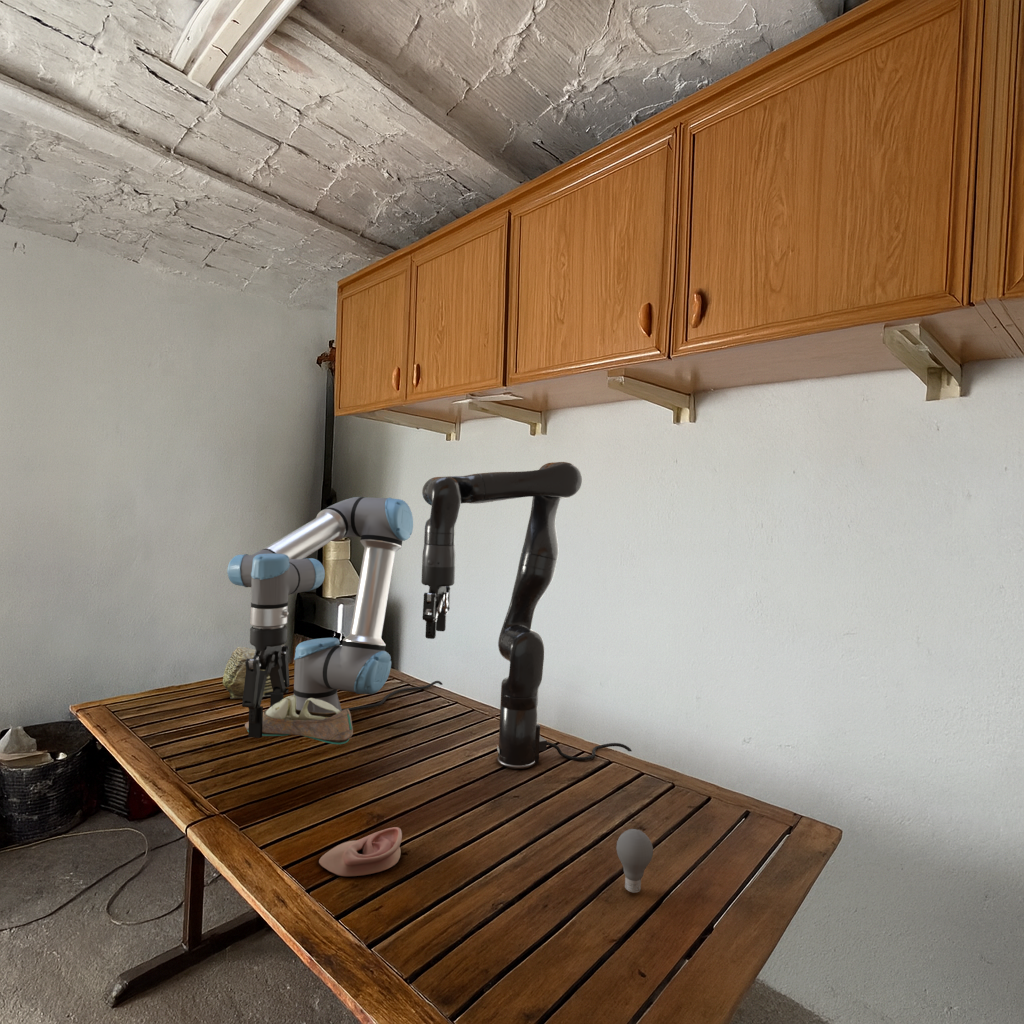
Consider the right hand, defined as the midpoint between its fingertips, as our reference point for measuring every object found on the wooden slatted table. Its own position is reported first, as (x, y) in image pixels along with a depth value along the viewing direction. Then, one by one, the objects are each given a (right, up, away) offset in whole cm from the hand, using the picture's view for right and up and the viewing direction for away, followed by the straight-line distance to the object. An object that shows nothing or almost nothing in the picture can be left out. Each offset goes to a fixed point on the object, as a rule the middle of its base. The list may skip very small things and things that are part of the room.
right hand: (435, 634), depth 145 cm
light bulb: (+38, -35, -39) cm, 65 cm away
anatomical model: (-9, -33, -34) cm, 48 cm away
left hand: (-36, -19, -7) cm, 41 cm away
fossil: (-63, -29, +53) cm, 87 cm away
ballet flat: (-28, -20, -9) cm, 36 cm away
